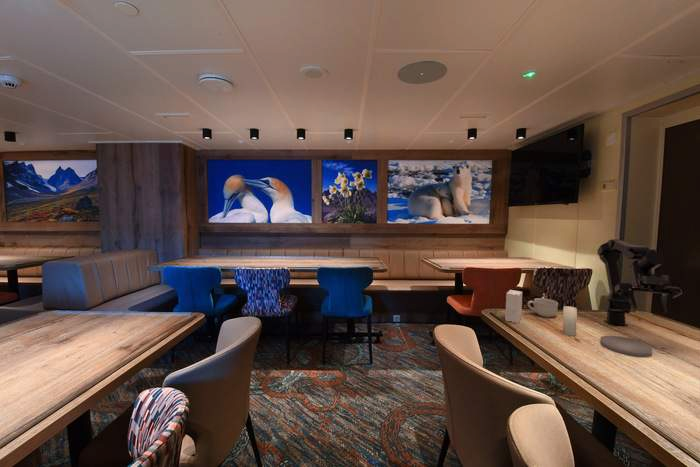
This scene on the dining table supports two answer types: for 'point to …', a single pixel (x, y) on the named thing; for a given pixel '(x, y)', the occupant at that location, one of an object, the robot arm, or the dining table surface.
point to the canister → (569, 320)
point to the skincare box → (513, 306)
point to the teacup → (544, 307)
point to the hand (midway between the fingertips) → (650, 310)
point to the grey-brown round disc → (626, 346)
